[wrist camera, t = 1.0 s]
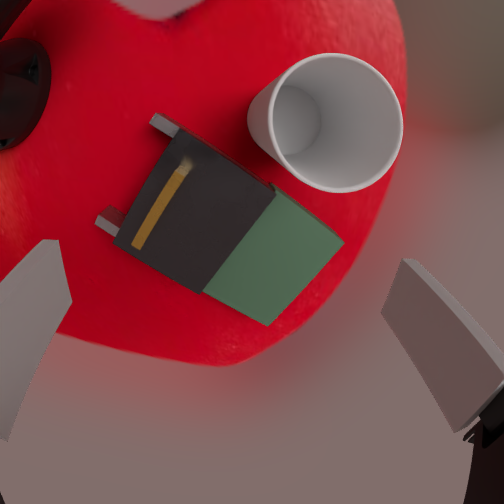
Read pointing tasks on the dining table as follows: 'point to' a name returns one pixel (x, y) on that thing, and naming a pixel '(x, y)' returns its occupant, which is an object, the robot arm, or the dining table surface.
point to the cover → (192, 212)
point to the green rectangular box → (274, 260)
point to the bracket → (112, 216)
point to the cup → (329, 122)
